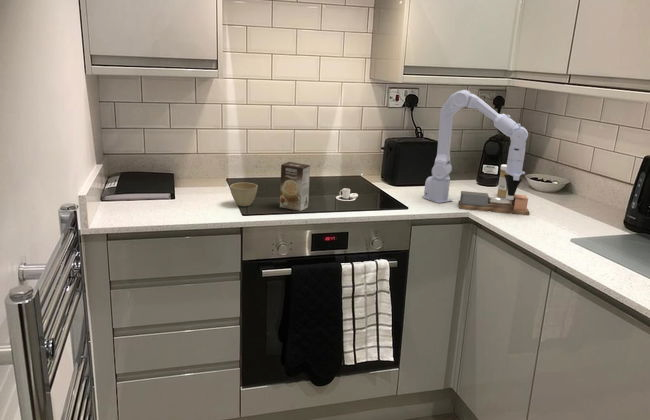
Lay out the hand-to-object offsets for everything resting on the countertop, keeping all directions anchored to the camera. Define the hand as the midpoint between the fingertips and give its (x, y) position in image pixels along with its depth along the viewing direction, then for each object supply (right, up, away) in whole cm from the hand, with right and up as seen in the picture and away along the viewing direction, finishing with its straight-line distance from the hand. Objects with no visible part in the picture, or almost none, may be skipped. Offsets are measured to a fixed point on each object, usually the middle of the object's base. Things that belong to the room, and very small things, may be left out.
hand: (510, 194), depth 204 cm
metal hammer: (-3, -4, +2) cm, 5 cm away
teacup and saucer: (-60, -2, +7) cm, 60 cm away
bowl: (-101, -4, -7) cm, 101 cm away
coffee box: (-82, -5, -7) cm, 83 cm away
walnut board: (-6, -5, +3) cm, 8 cm away
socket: (+4, -5, +1) cm, 6 cm away
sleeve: (-13, -4, +4) cm, 14 cm away
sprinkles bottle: (+4, 0, +22) cm, 23 cm away
